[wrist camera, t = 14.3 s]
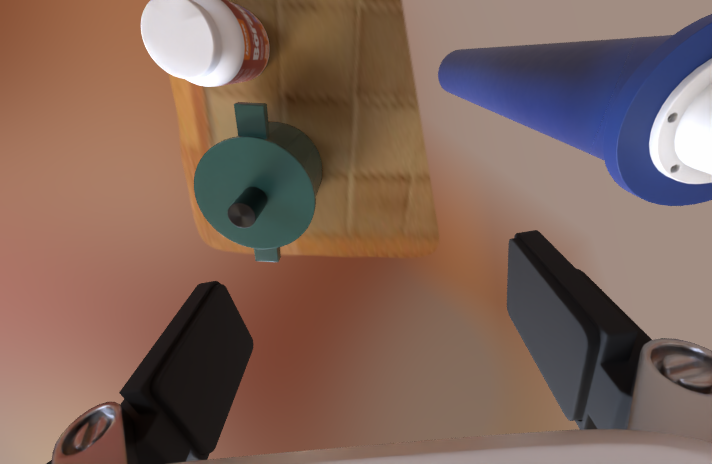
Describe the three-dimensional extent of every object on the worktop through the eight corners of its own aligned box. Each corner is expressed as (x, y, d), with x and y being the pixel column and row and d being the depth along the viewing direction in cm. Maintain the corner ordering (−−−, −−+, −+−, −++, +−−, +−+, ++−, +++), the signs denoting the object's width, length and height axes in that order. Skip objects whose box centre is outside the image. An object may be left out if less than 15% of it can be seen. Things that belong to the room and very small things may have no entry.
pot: (321, 96, 32) (308, 108, 25) (322, 228, 39) (313, 268, 32) (224, 91, 32) (182, 102, 25) (244, 224, 39) (216, 263, 32)
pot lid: (315, 137, 26) (306, 151, 22) (317, 245, 31) (310, 273, 27) (187, 131, 26) (155, 144, 22) (211, 240, 31) (188, 268, 27)
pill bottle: (284, 60, 30) (246, 62, 21) (233, 92, 32) (176, 108, 22) (244, -11, 28) (180, -47, 18) (191, 28, 29) (105, 14, 20)
